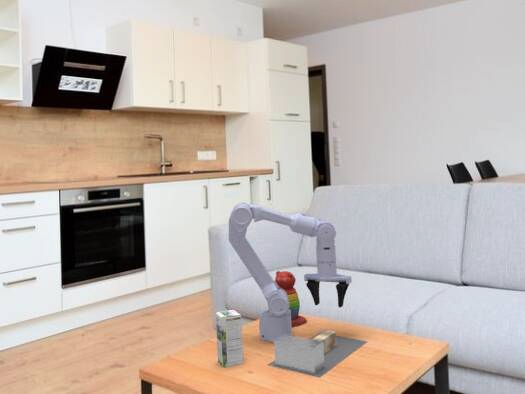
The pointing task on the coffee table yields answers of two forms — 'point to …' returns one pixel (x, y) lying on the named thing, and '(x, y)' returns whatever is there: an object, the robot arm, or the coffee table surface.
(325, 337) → the slat
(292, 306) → the stacking bear
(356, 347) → the board
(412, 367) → the coffee table surface
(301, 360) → the grey rectangular block
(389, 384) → the coffee table surface
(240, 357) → the syrup box
